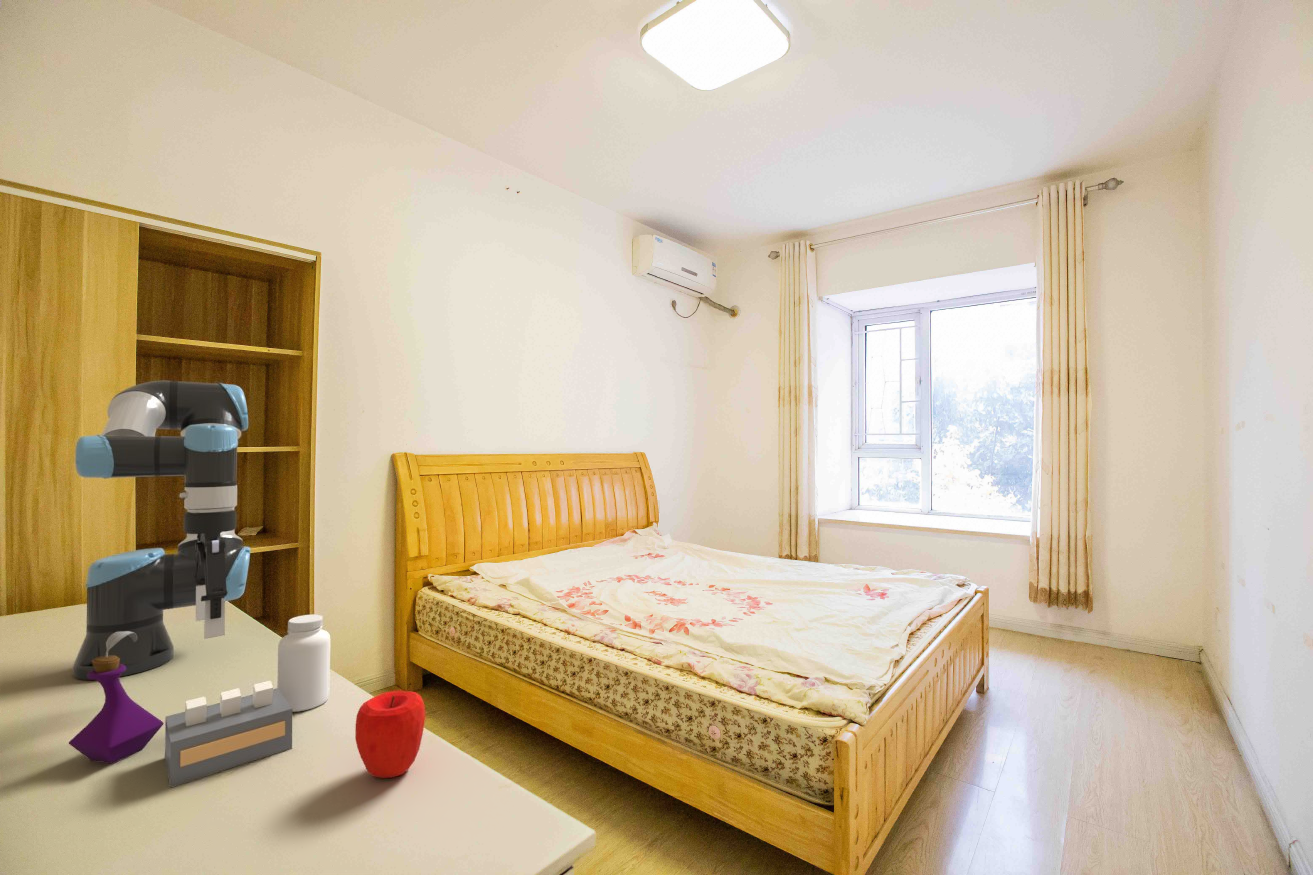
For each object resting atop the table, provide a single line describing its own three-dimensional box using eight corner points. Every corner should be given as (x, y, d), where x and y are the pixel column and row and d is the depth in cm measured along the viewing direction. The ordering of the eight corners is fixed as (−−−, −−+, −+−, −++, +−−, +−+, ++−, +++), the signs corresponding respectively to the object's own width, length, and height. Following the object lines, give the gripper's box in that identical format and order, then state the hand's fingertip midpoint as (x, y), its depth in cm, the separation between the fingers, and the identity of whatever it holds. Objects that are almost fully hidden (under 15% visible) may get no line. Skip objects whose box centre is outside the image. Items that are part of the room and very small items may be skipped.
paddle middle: (219, 708, 84) (220, 692, 84) (238, 704, 86) (239, 687, 85) (221, 717, 83) (222, 700, 82) (240, 712, 84) (241, 695, 84)
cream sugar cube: (252, 700, 87) (253, 684, 86) (269, 696, 88) (270, 680, 88) (254, 708, 85) (255, 691, 85) (272, 703, 87) (273, 687, 86)
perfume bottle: (108, 771, 79) (109, 643, 79) (67, 765, 81) (69, 639, 81) (164, 743, 87) (165, 626, 87) (125, 738, 88) (127, 623, 88)
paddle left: (185, 718, 81) (185, 700, 81) (204, 713, 83) (205, 696, 82) (186, 726, 80) (187, 709, 79) (206, 721, 81) (206, 704, 81)
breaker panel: (165, 757, 83) (165, 716, 83) (277, 724, 93) (278, 687, 93) (170, 788, 75) (171, 743, 75) (292, 749, 85) (293, 709, 85)
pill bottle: (340, 696, 103) (341, 614, 103) (299, 716, 95) (300, 627, 95) (308, 690, 105) (308, 609, 106) (265, 709, 98) (266, 622, 98)
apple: (355, 799, 73) (355, 715, 73) (354, 765, 81) (355, 690, 81) (428, 780, 77) (429, 701, 77) (421, 749, 85) (421, 677, 85)
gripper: (177, 506, 108) (176, 616, 108) (191, 517, 91) (189, 650, 90) (226, 503, 114) (225, 609, 113) (248, 513, 96) (246, 639, 95)
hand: (209, 627), depth 102 cm, fingers open, 13 cm apart
